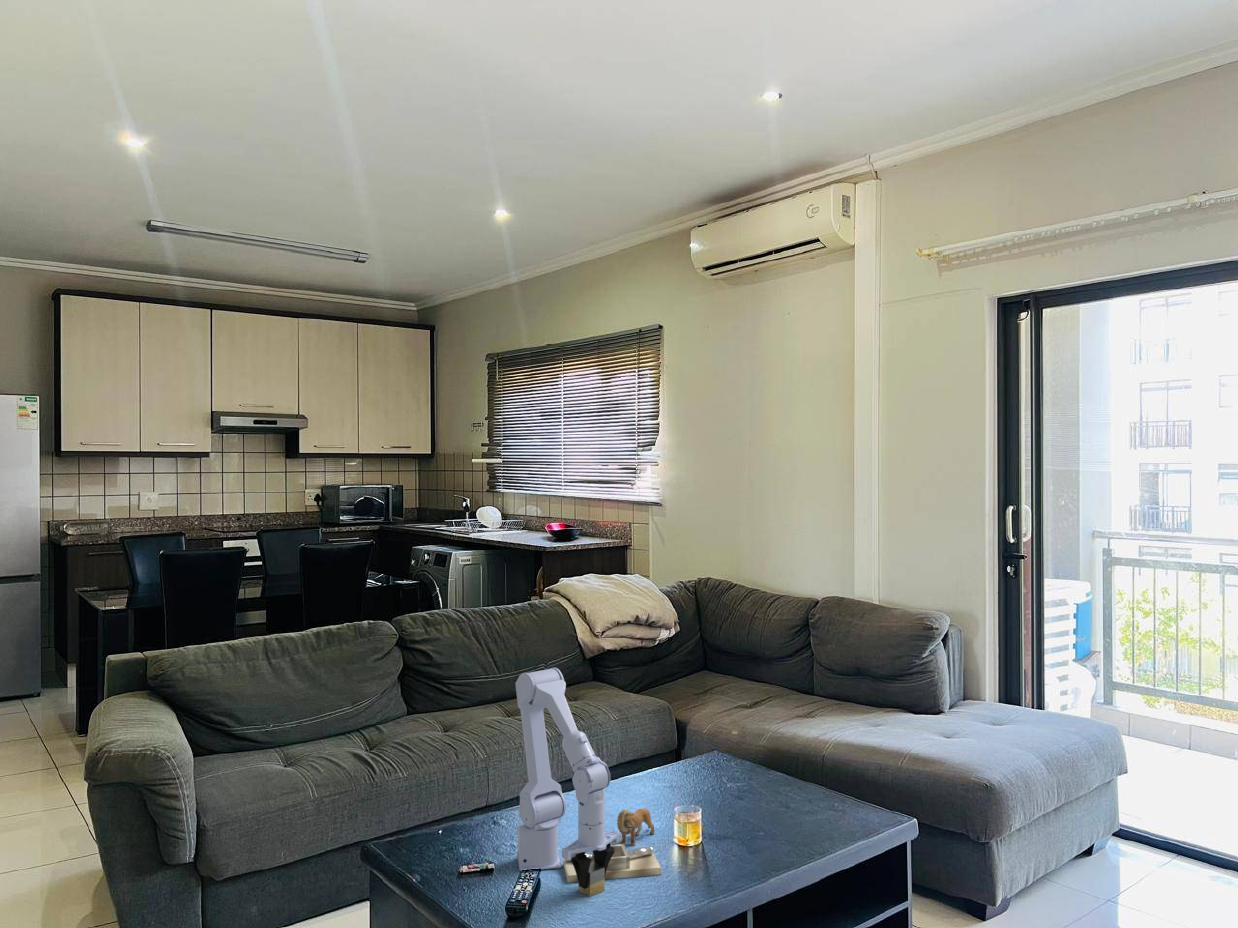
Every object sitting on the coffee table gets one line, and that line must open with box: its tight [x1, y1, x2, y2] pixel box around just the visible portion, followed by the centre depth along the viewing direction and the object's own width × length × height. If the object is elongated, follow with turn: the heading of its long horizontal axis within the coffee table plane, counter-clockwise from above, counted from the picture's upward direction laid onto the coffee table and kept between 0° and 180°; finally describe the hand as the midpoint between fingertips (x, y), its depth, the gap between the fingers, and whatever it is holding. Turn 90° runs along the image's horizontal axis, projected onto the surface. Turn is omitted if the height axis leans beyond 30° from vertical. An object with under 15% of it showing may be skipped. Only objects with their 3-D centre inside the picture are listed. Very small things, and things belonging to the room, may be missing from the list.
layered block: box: [577, 861, 606, 898], centre depth 189 cm, size 4×4×5 cm
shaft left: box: [565, 853, 594, 862], centre depth 199 cm, size 7×2×2 cm, turn 86°
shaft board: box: [562, 843, 662, 884], centre depth 199 cm, size 21×9×4 cm, turn 101°
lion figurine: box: [616, 807, 655, 847], centre depth 215 cm, size 15×5×9 cm, turn 151°
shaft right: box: [627, 845, 655, 859], centre depth 202 cm, size 7×2×2 cm, turn 116°
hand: (591, 883), depth 189 cm, fingers closed on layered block, 4 cm apart
